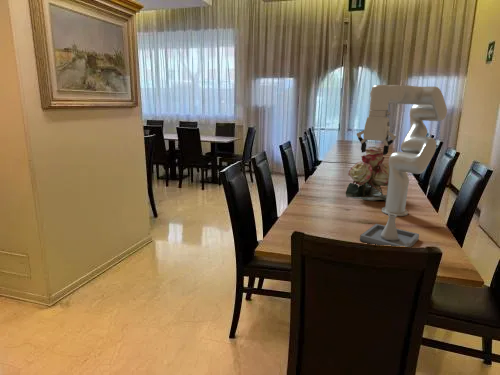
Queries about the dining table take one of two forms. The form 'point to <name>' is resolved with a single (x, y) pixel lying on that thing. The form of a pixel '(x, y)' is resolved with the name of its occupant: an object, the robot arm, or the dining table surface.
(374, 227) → the serving tray
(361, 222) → the dining table surface
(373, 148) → the rose bouquet
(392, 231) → the flask
